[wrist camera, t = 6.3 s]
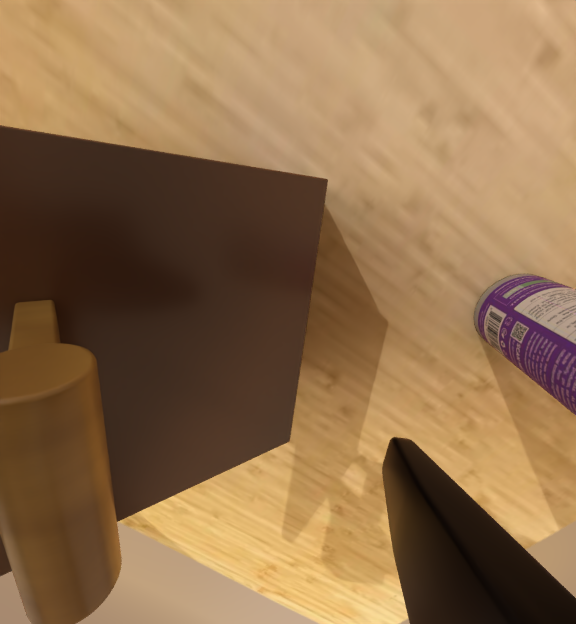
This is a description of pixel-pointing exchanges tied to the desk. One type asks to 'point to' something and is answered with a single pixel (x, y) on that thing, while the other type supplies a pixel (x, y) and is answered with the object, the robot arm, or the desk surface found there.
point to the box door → (136, 343)
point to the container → (533, 330)
